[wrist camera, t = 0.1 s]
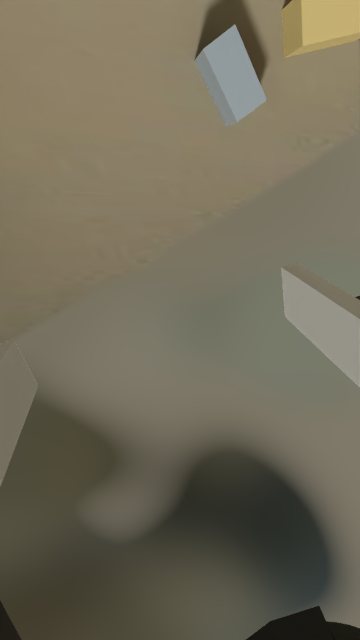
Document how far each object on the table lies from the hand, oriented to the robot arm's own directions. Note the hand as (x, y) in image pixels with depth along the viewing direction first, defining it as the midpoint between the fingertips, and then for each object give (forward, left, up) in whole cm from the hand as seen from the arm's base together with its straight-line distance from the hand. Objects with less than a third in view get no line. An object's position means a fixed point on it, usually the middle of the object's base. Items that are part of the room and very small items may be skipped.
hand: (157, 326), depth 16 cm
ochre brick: (-15, +25, -28) cm, 40 cm away
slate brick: (-12, +14, -28) cm, 34 cm away
